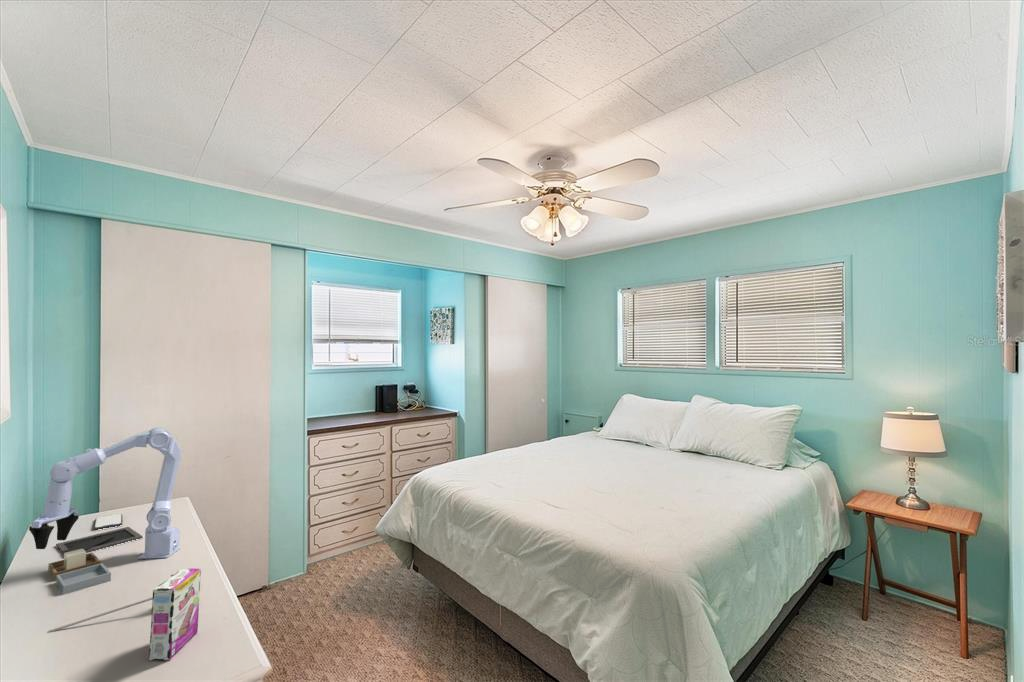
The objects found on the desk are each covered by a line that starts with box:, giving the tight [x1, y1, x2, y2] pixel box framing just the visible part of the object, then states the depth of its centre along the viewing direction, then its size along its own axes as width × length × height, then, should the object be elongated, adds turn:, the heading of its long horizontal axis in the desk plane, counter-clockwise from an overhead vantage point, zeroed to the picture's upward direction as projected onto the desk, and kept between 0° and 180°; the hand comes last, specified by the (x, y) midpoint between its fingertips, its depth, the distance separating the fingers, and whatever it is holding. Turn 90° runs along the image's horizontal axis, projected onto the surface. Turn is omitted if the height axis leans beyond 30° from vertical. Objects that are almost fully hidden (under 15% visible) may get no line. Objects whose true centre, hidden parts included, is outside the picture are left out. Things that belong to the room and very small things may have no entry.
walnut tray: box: [47, 552, 102, 582], centre depth 149 cm, size 11×11×2 cm
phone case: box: [93, 513, 124, 531], centre depth 190 cm, size 9×2×16 cm
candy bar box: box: [148, 568, 202, 662], centre depth 112 cm, size 11×5×16 cm, turn 5°
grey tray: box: [55, 562, 112, 595], centre depth 142 cm, size 11×11×2 cm
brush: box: [47, 570, 180, 634], centre depth 124 cm, size 4×28×9 cm, turn 116°
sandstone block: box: [63, 549, 87, 570], centre depth 150 cm, size 4×4×5 cm
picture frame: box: [55, 526, 143, 555], centre depth 171 cm, size 16×2×21 cm
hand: (51, 544), depth 144 cm, fingers open, 7 cm apart
